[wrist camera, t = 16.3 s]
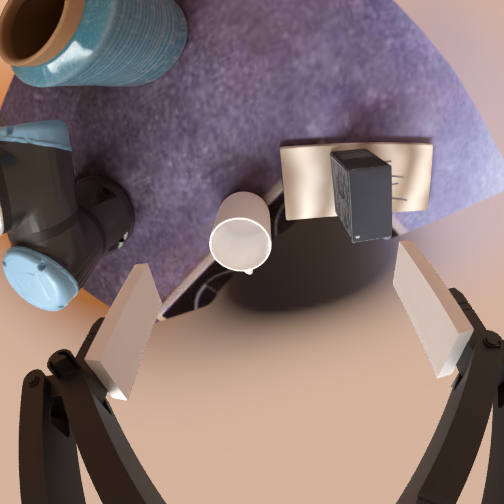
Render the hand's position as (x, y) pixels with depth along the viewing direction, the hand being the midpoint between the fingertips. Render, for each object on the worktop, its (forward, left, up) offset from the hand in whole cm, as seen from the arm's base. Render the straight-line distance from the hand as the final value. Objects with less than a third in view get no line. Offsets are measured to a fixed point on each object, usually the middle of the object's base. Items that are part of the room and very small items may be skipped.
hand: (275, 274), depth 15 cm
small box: (+13, -7, -33) cm, 36 cm away
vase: (-17, +21, -35) cm, 44 cm away
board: (+15, -7, -35) cm, 38 cm away
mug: (-5, -14, -35) cm, 38 cm away
